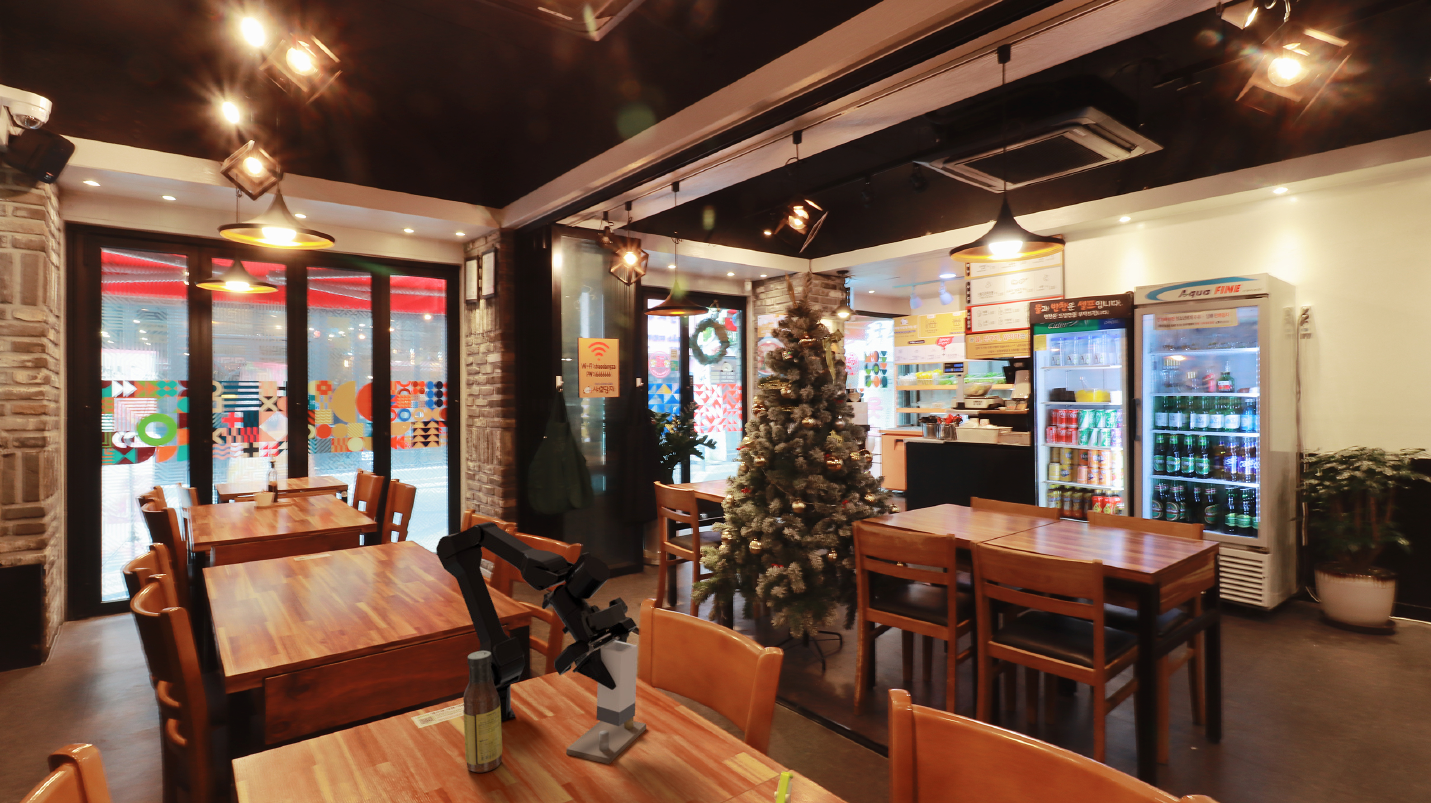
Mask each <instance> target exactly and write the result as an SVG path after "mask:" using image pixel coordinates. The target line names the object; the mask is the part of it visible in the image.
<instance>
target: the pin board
mask: <svg viewBox="0 0 1431 803" xmlns="http://www.w3.org/2000/svg"><path fill="white" fill-rule="evenodd" d="M645 730H647V723H645V722H640V721H635V720H634V717H632V718H631V719H629V720H628V721H626V722H625V723H623V724H622V725H620V726H616V725H613V724H609V723H606V722H603V721H600V720H599V721H598V722H597V723H596V724H595V725H593V727H591V728H590V729H588V730H587V731H586V732H585V733H584V734H582V735H581V736H580V737H579V738H577V739H576V740H575V741H574V742H573V743H572V744H570V745H569V746H568V747H566V748H565V749H566V752H565V753H566V755H569V756H573V757H577V758H581V759H586V760H590V761H594V762H598V763H602V764H607V765H610V764H611V763H612V762H613V761H614V760H616V758H617V757H618V756H619V755H620V754H621V753H623V751H624V750H626V749H627V748H628V747H629V746H630V745H631V744H632V743H633V742H635V740H636V739H637V738H639V737H640V735H641V734H643V732H644V731H645Z"/></svg>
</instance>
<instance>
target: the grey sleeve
mask: <svg viewBox="0 0 1431 803" xmlns="http://www.w3.org/2000/svg"><path fill="white" fill-rule="evenodd" d="M600 649H601V660H602V662H603V663H604V665H605V667H606V668H607V670H608V672H609V673H610V675H611V677H612V678H613V680H614V682H615V684H616V687H615V688H614V689H613V690H611V689H609V688H607V687H605V686H604V685H602V684H600V683H598V682H597V690H596V691H597V692H596V694H597V696H596V721H599V722H600V721H603V722H606V723H609V724H613V725H616V726H620V725H622V724H623V723H625V722H626V721H628V720H629V719H631V718H632V717H633V718H634V717H635V716H636V696H637V695H636V694H637V692H636V691H637V690H636V689H637V669H638V668H637V665H638V660H637V659H638V645H636V644H632V643H629V642H626V643H625V642H620V641H616V640H615V641H613V642H611V643H609V644H607V645H603V646H602V647H600Z"/></svg>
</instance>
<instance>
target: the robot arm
mask: <svg viewBox="0 0 1431 803" xmlns="http://www.w3.org/2000/svg"><path fill="white" fill-rule="evenodd" d="M482 548H484V549H486V550H487V551H489V552H491V553H492V554H494V555H496V557H499V558H500V559H502V560H503V561H505V562H507V563H508V564H510V565H511V566H513V567H514V568H516V569H517V570H518V571H520V574H521V578H522V579H523V581H525V583H527V584H528V585H529V586H530V587H531V588H533V589H534V590H536V591H537V592H538V591H544V590H547V589H549V588H552V587H555V586H556V587H555V588H553V590H552V591H549V592H547V593H544V594H543V601H542V603H541V609H542V610H545V609H549V608H551V607H552V608H553V610H554V611H555V613H556V614H557V616H558V617H559V620H561V622H562V623H563V625H564V627H562V629H561V631H562V632H563V634H564V635H566V634H570V635H571V637H572V638H573V640H574V641H575V642H572V643H571V644H569V645H567V646H566V647H565V648H564V649H563V650H562V651H561V652H560V653H559V654H558V656H556V657H555V658H554V659H553V660H554V661H553V663H554V664H553V668H554V669H555V671H556V672H557V673H558V675H559V676H562V675H564V674H565V673H568V672H570V670H572V673H579V674H580V675H582V676H585V677H587V678H588V679H591V680H593V681H594V682H597V684H598V683H600V684H602V685H604V686H605V687H607V688H609V689H611V690H613V689H614V688H615V687H616V684H615V682H614V680H613V678H612V677H611V675H610V673H609V672H608V670H607V668H606V667H605V665H604V663H603V662H602V660H601V649H600V647H602V646H604V645H607V644H609V643H611V642H613V641H615V640H616V641H620V642H625V643H628V638H629V637H630V634H631V633H632V631H634V630H635V629H636V628H637V626H638V625H637V624H636V622H635V621H634V619H633V618H632V617H629V616H626V614H627V613H628V610H629V608H628V605H627V603H626V602H625V601H624V600H623V599H622V598H621V597H620V596H619V597H616V598H615V599H611V600H610V601H609V602H608V607H605V608H603V609H600V607H599V606H597V605H595V604H594V605H590V604H589V603H588V601H587V600H588V599H591V598H592V597H593V596H594V595H595V594H596V593H597V592H598V591H599V590H600V589H601V588H602V586H604V584H606V583H607V582H608V580H609V579H610V578H611V571H610V568H609V566H608V565H607V563H606V562H604V561H603V560H601V559H600V558H598V557H595V556H593V555H592V554H591V553H590V552H588V551H587V552H584V553H581V554H580V556H578V558H577V559H576V561H575V563H574V562H571V561H569V560H567V559H566V558H565V557H564V556H563V555H561V554H558V553H556V552H553V551H550V550H543V549H542V550H541V549H537V548H534V547H532V546H530V545H529V544H527V543H526V542H523V541H522V540H520V539H519V538H517V537H515V536H514V535H512V534H510V533H509V532H507V531H505V530H504V529H502V528H501V527H499V526H498V524H496V523H495V522H492V521H486V522H483V523H477V524H474V525H473V526H471V527H469V528H467V529H465V530H462V531H461V532H456V533H452V534H448V535H444V536H441V538H440V539H439V541H438V544H437V546H436V548H435V550H436V555H437V557H438V559H439V562H440V563H441V565H442V567H443V569H444V570H445V571H446V572H447V573H448V574H450V575H451V576H453V577H454V578H455V579H456V581H457V584H458V587H459V589H460V592H461V594H462V598H463V600H464V603H465V605H466V608H467V611H468V614H469V617H470V620H471V622H472V624H473V628H474V630H475V633H476V635H477V639H478V641H479V644H480V645H479V651H488V652H490V653H491V655H492V661H491V674H492V679H493V682H494V685H495V687H496V690H497V692H498V695H499V698H500V711H501V722H504V721H509V720H513V719H516V713H515V711H514V710H513V708H512V704H511V703H512V699H511V698H512V696H511V694H512V692H511V690H512V688H511V685H512V684H513V683H516V682H519V681H520V678H521V675H522V673H523V671H524V667H525V666H526V661H525V657H524V656H525V655H526V653H525V652H524V651H523V649H522V646H521V642H520V639H519V638H518V637H517V636H514V637H510V636H509V635H508V634H507V633H505V631H504V629H503V626H502V623H501V620H500V618H499V615H498V612H497V610H496V608H495V605H494V602H493V599H492V597H491V594H490V591H489V588H488V587H487V583H486V580H485V578H484V576H483V575H484V574H483V573H482V570H481V566H482V559H483V550H482ZM573 663H574V665H575V668H574V669H572V665H573Z"/></svg>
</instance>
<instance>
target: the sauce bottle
mask: <svg viewBox="0 0 1431 803" xmlns="http://www.w3.org/2000/svg"><path fill="white" fill-rule="evenodd" d="M491 661H492V655H491V653H490V652H488V651H474V652H471V653H470V654H468V655H467V665H468V669H469V670H468V671H469V672H468V674H469V677H468V684H467V686H466V687H465V689H464V693H463V699H462V700H463V729H464V751H465V752H464V753H465V754H464V755H465V756H464V757H465V762H466V768H467V769H468V770H469V771H470V772H472V773H473V772H474V773H478V774H481V773H487V772H491V771H493V770H495V769H497V767H499V766H500V765H501V763H502V760H503V756H502V755H503V738H502V736H503V734H502V733H503V732H502V721H501V711H500V698H499V695H498V692H497V690H496V687H495V685H494V682H493V679H492V674H491ZM469 771H468V772H469Z"/></svg>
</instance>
